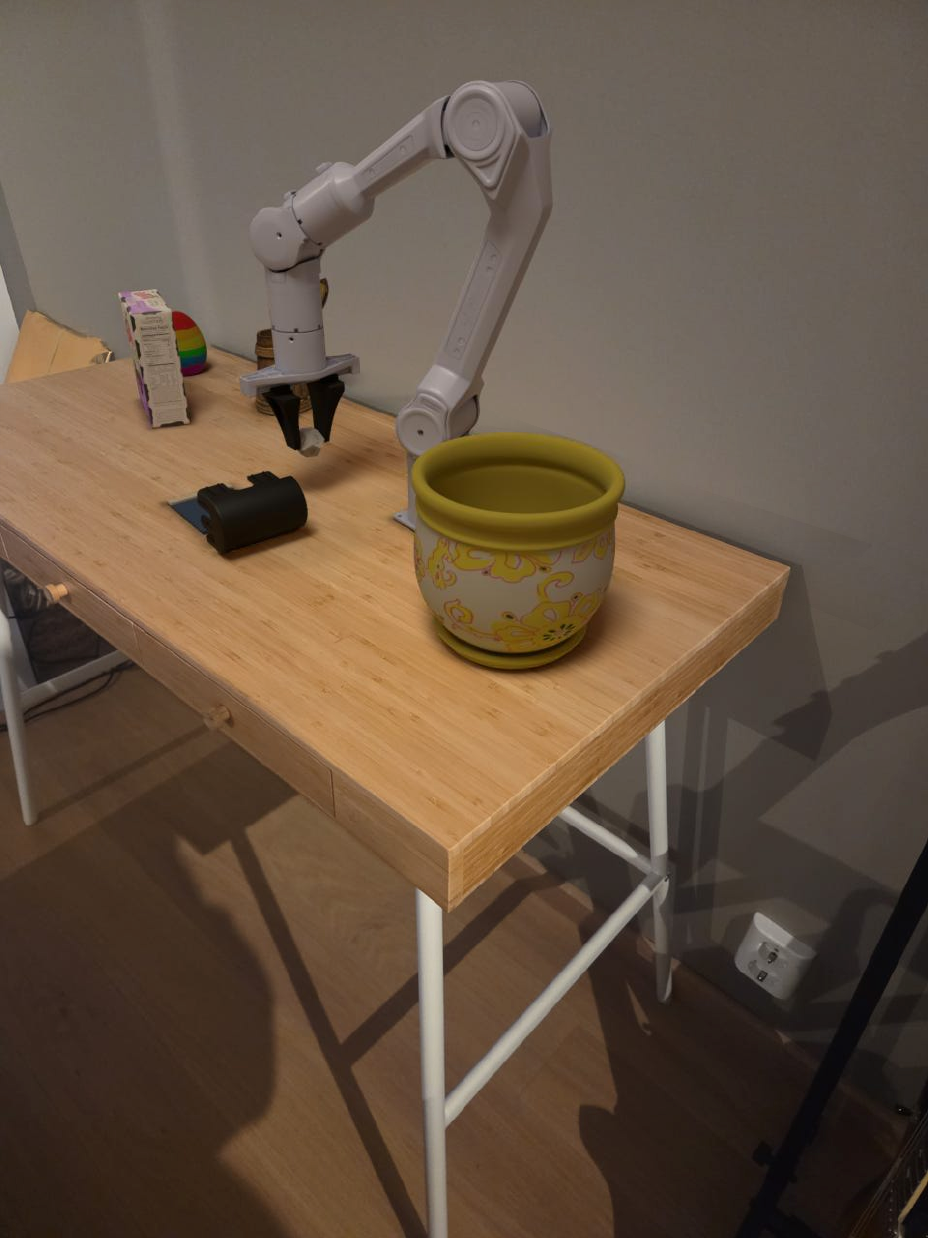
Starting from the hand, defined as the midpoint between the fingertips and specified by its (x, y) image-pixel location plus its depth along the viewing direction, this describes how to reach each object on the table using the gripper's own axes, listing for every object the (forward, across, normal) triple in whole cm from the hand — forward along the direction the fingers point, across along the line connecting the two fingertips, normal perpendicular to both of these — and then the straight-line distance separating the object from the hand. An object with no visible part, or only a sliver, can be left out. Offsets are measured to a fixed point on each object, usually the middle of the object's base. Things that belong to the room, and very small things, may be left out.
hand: (308, 443), depth 99 cm
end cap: (+7, +11, +6) cm, 14 cm away
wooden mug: (+7, -16, -31) cm, 35 cm away
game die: (+2, 0, 0) cm, 2 cm away
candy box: (+7, +2, -40) cm, 41 cm away
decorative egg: (+7, -9, -57) cm, 58 cm away
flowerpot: (+7, +1, +37) cm, 38 cm away
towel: (+7, +11, -4) cm, 14 cm away
